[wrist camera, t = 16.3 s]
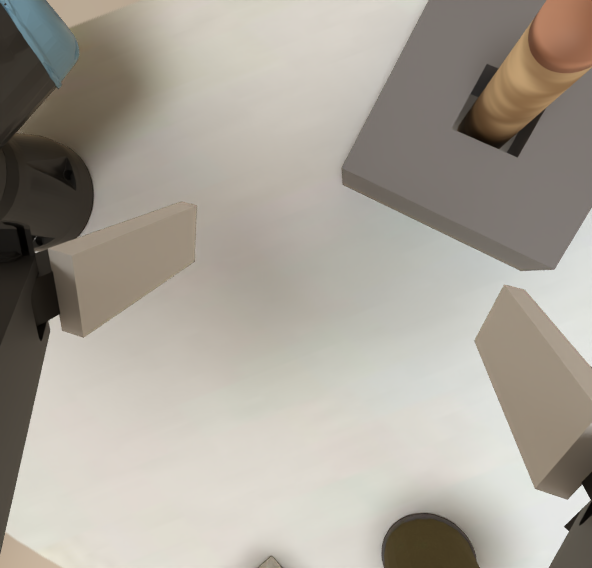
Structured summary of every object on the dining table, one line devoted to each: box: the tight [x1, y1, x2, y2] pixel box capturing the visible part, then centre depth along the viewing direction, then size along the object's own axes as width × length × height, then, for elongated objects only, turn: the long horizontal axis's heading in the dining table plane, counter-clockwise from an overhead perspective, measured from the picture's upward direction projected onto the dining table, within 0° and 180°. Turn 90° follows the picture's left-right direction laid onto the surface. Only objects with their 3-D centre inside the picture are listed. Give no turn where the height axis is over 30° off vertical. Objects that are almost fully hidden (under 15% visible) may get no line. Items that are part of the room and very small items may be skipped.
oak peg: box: [457, 0, 592, 149], centre depth 28 cm, size 5×5×16 cm
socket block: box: [342, 0, 592, 271], centre depth 34 cm, size 22×22×6 cm
